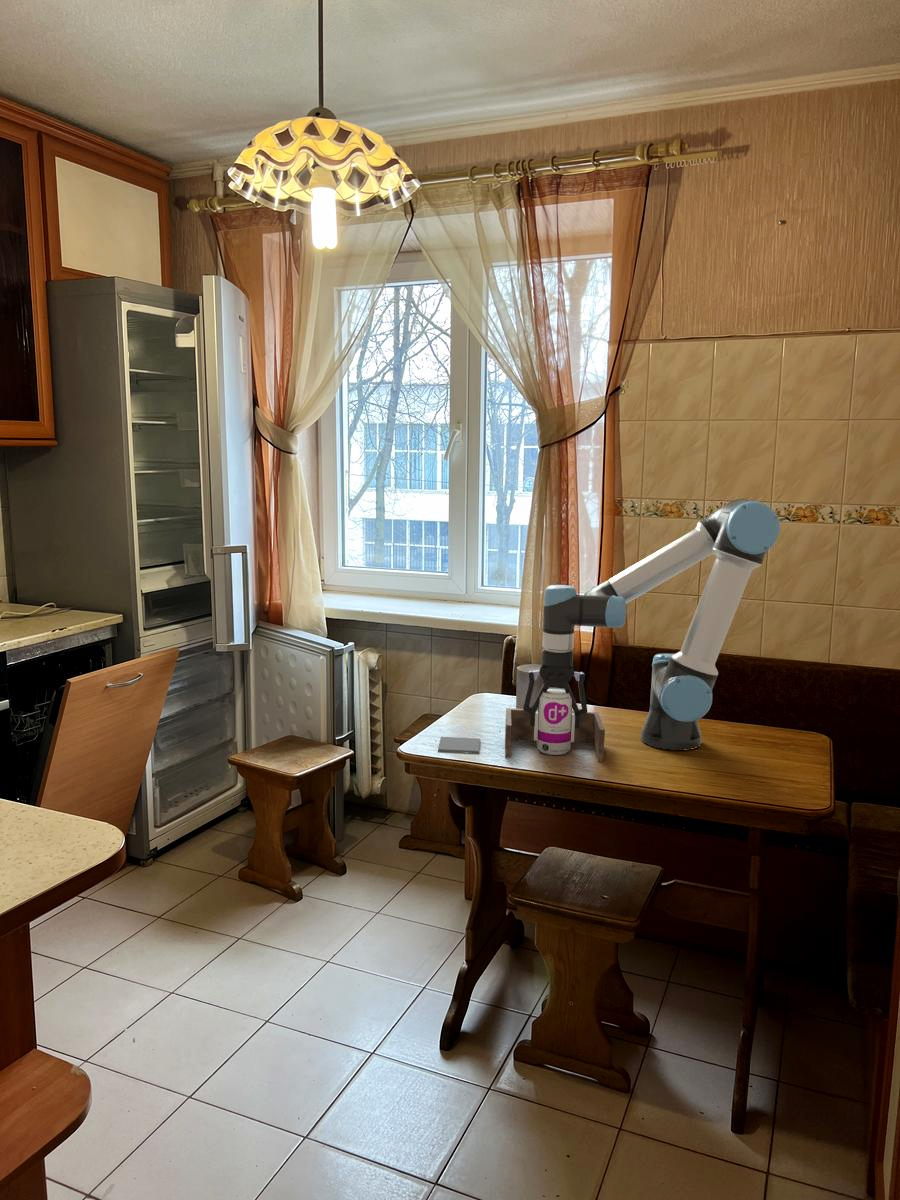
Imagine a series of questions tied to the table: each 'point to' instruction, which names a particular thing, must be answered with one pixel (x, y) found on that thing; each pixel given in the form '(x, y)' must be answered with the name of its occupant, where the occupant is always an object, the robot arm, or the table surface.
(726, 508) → the robot arm
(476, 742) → the rubber mat
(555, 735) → the supplement can
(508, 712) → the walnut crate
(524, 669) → the pillar candle
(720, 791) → the table surface
